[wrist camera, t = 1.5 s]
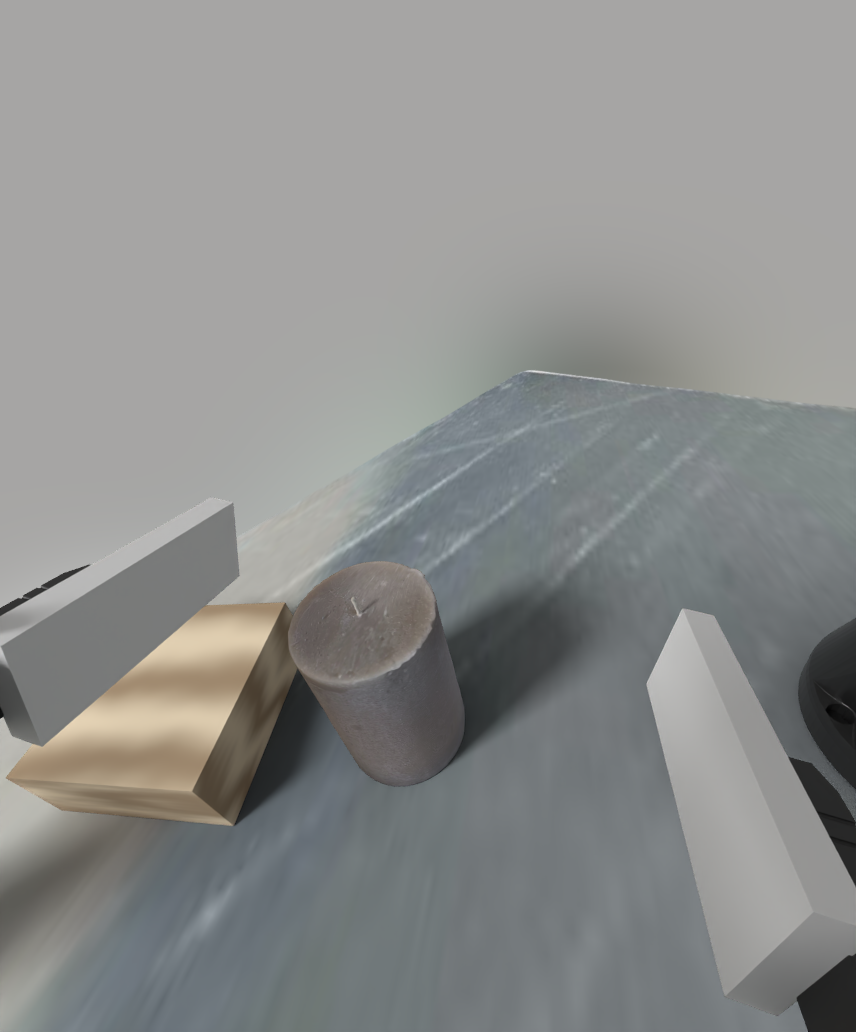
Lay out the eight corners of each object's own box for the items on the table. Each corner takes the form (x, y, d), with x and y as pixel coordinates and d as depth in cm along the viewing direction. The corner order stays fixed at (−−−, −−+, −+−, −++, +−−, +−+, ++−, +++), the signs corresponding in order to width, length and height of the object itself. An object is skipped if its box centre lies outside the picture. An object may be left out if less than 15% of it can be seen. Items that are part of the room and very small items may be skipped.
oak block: (174, 644, 49) (142, 607, 45) (308, 642, 45) (285, 602, 41) (61, 810, 36) (5, 777, 33) (233, 825, 33) (191, 791, 29)
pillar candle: (327, 733, 37) (248, 617, 28) (408, 650, 42) (363, 528, 33) (408, 819, 31) (341, 707, 22) (493, 710, 36) (466, 581, 27)
